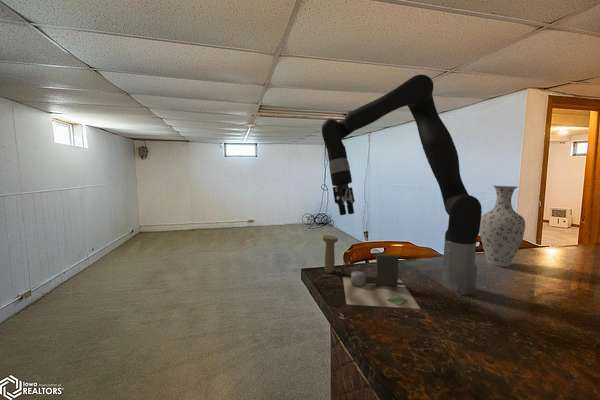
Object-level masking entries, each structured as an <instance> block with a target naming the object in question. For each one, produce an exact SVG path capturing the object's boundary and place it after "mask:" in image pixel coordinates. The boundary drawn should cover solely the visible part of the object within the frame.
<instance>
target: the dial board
mask: <svg viewBox="0 0 600 400" xmlns="http://www.w3.org/2000/svg"><path fill="white" fill-rule="evenodd" d="M342 281H343V288H344V295H345V302H346V305H347V306H348V305H351V306H363V307H364V306H367V307H368V306H369V307H384V308H399V309H401V308H402V309H415V310H416V309H417V310H421V307H420V306H419V305H418V303H417V301H416V300H415V298H414V297H413V296H412V294H411V293H410V291H409V290H408V288H407V287H406V285H397V286H379V285H376V284H367V283H366V285H365V286H354V285H352V284H351V276H350V277H349V276H342ZM397 282H403V281H402V280H401V279H398V280H397Z"/></svg>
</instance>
